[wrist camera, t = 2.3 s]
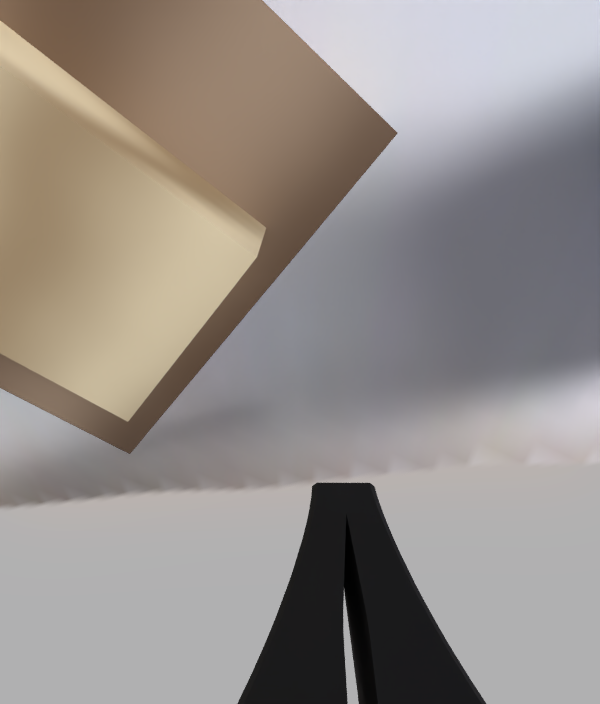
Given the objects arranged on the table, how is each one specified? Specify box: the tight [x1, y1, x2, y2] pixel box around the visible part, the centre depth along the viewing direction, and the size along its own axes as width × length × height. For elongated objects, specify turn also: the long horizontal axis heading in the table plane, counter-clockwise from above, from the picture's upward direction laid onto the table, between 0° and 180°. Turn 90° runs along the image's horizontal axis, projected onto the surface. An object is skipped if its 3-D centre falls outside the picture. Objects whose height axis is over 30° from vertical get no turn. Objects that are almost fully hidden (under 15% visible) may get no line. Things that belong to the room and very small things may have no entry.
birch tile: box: [0, 21, 266, 422], centre depth 10 cm, size 7×6×2 cm
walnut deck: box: [0, 0, 397, 454], centre depth 12 cm, size 12×13×3 cm
